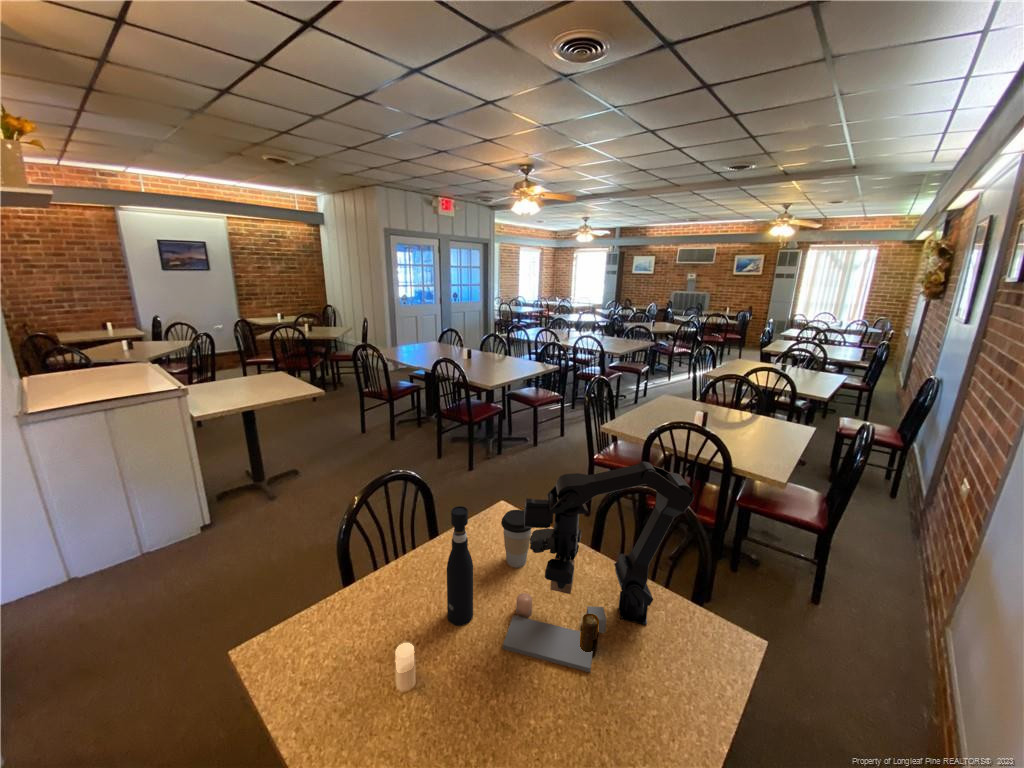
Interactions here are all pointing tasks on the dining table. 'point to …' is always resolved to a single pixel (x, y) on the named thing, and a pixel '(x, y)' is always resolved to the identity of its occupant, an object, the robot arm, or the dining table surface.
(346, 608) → the dining table surface
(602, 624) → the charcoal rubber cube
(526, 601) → the terracotta cylinder
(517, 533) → the coffee cup
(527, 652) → the slate board
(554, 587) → the walnut block
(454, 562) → the black water bottle
